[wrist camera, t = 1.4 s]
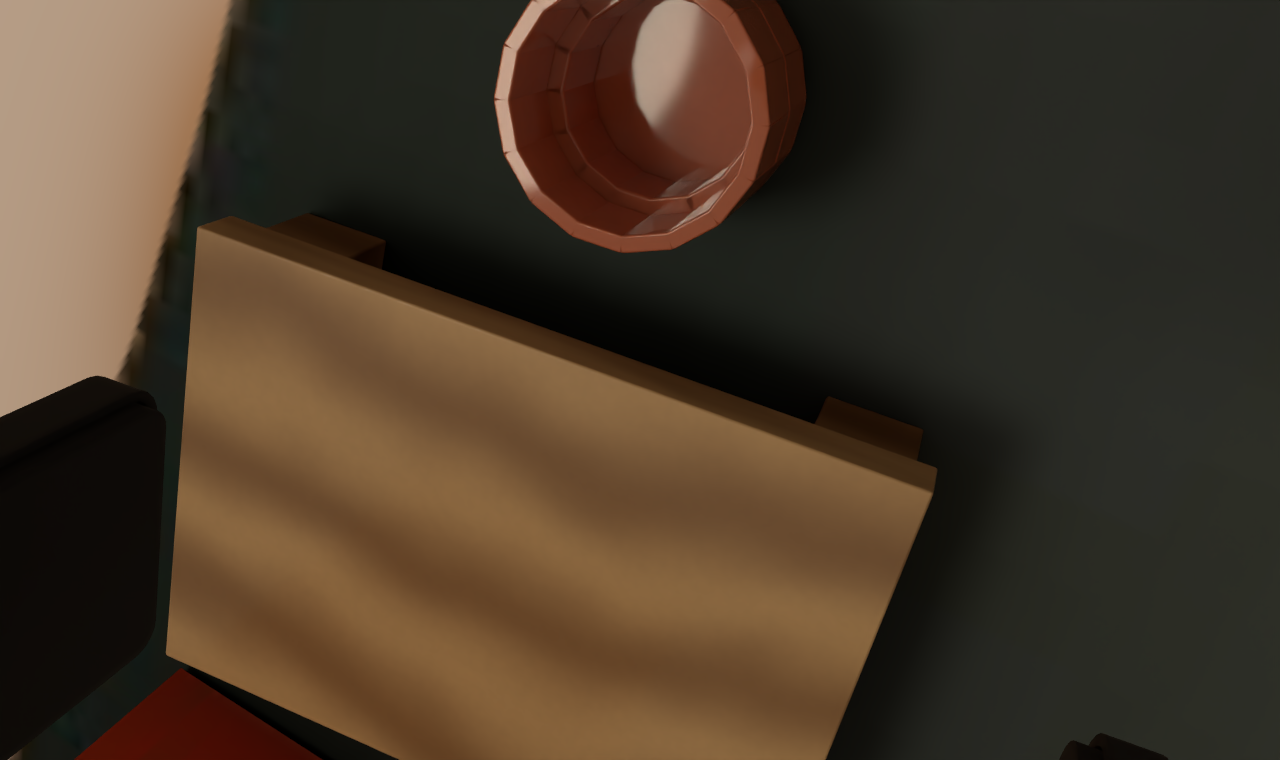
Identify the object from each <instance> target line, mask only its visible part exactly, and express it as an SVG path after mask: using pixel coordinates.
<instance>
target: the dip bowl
mask: <svg viewBox="0 0 1280 760" xmlns="http://www.w3.org/2000/svg"><path fill="white" fill-rule="evenodd" d="M805 100H806V88H805V77H804V66H803V56H802V50H801V49H800V44H799V42H798V40H797V38H796V36H795V34H794V32H793V31H792V29H791V27H790V25H789V23H788V21H787V19H786V17H785V15H784V13H783V11H782V9H781V7H780V5H779V4H778V3H777V1H776V0H531V1H530V2H529V4H528V5H527V7H526V9H525V10H524V12H523V13H522V15H521V17H520V18H519V20H518V21H517V23H516V25H515V26H514V28H513V29H512V31H511V33H510V34H509V36H508V37H507V39H506V41H505V43H504V46H503V50H502V56H501V61H500V67H499V72H498V78H497V83H496V89H495V94H494V104H495V110H496V115H497V121H498V127H499V132H500V138H501V144H502V149H503V153H505V154H504V156H505V158H506V160H507V161H508V163H509V165H510V167H511V168H512V170H513V172H514V174H515V175H516V177H517V179H518V181H519V182H520V184H521V186H522V188H523V189H524V191H525V193H526V195H527V196H528V198H529V200H530V201H532V203H533V204H534V205H535V206H536V207H537V208H539V209H540V210H541V211H542V212H543V213H545V214H546V215H547V216H548V217H549V218H550V219H552V220H553V221H554V222H555V223H556V224H558V225H559V226H560V227H561V228H562V229H564V230H565V231H566V232H567V233H568V234H570V235H571V236H573V237H575V238H578V239H581V240H584V241H587V242H590V243H593V244H596V245H599V246H602V247H605V248H608V249H610V250H613V251H616V252H619V253H620V252H622V253H632V252H646V251H660V250H671V249H675V248H677V247H679V246H681V245H683V244H685V243H687V242H689V241H690V240H692V239H694V238H696V237H698V236H700V235H702V234H704V233H706V232H708V231H709V230H711V229H713V228H715V227H717V226H719V225H720V224H721V223H722V222H723V221H724V220H726V219H727V218H728V217H729V216H730V215H731V214H732V213H733V212H734V211H736V210H737V209H738V208H739V207H740V206H741V205H742V204H743V203H744V202H745V201H747V200H748V199H749V198H750V197H751V196H752V195H753V194H754V193H755V192H757V191H758V190H759V189H760V188H761V187H762V186H763V185H764V184H765V183H766V181H767V180H768V179H769V178H770V176H771V175H772V174H773V173H774V171H775V170H776V169H777V168H778V167H779V165H780V164H781V163H782V162H783V160H784V159H785V158H786V157H787V155H788V154H789V153H790V151H791V149H792V147H793V145H794V141H795V138H796V135H797V131H798V128H799V125H800V121H801V118H802V115H803V111H804V108H805V105H806V101H805Z"/></svg>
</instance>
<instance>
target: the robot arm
mask: <svg viewBox="0 0 1280 760" xmlns="http://www.w3.org/2000/svg"><path fill="white" fill-rule="evenodd" d="M165 438H166V421H165V418H164V416H163V414H162V413H160V412H159V411H157V405H156V403H155V400H154V398H153V397H152V396H151V395H150V394H149V393H148V392H145V391H142V390H139V389H137V388H134V387H131V386H128V385H125V384H123V383H120V382H117V381H114V380H111V379H109V378H106V377H101V376H93V377H89V378H86V379H84V380H82V381H80V382H77V383H75V384H73V385H71V386H68V387H66V388H64V389H62V390H60V391H57V392H55V393H53V394H51V395H49V396H46V397H44V398H42V399H40V400H38V401H35V402H33V403H31V404H29V405H27V406H24V407H22V408H20V409H17V410H15V411H13V412H11V413H9V414H6V415H4V416H2V417H0V760H8V759H9V758H10V757H11V756H13V755H14V754H15V753H17V752H18V751H19V750H20V749H22V748H23V747H24V746H25V745H27V744H28V743H29V742H30V741H32V740H33V739H34V738H35V737H37V736H38V735H39V734H40V733H42V732H43V731H44V730H45V729H47V728H48V727H49V726H50V725H52V724H53V723H54V722H55V721H57V720H58V719H59V718H60V717H62V716H63V715H64V714H65V713H67V712H68V711H69V710H70V709H72V708H73V707H74V706H75V705H77V704H78V703H79V702H80V701H82V700H83V699H84V698H85V697H87V696H88V695H89V694H90V693H92V692H93V691H94V690H95V689H97V688H98V687H99V686H100V685H102V684H103V683H104V682H105V681H107V680H108V679H109V678H110V677H112V676H113V675H114V674H115V673H117V672H118V671H119V670H120V669H122V668H123V667H124V666H125V665H127V664H128V663H129V662H130V661H132V660H133V659H134V658H135V657H136V656H137V655H138V654H139V653H140V652H141V651H142V650H143V649H144V647H145V646H146V645H147V643H148V641H149V639H150V637H151V636H152V633H153V630H154V627H155V621H156V604H157V586H158V567H159V549H160V530H161V512H162V493H163V475H164V456H165ZM1059 760H1168V758H1166V757H1165V756H1164V755H1162V754H1159V753H1156V752H1153V751H1150V750H1148V749H1145V748H1142V747H1139V746H1136V745H1134V744H1131V743H1128V742H1125V741H1122V740H1120V739H1117V738H1114V737H1111V736H1108V735H1106V734H1103V733H1100V734H1098V735H1096V736H1095V737H1094V739H1093V740H1092V741H1091V743H1090V744H1089V746H1088V745H1085V744H1082V743H1079V742H1077V741H1074V740H1073V741H1070V742H1069V743H1068V745H1067V746H1066V747H1065V749H1064V751H1063V753H1062V755H1061V757H1060V759H1059Z"/></svg>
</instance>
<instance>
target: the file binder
mask: <svg viewBox="0 0 1280 760" xmlns="http://www.w3.org/2000/svg"><path fill="white" fill-rule="evenodd" d="M75 760H322V759H321V758H319V757H318V756H316V755H314V754H313V753H311V752H310V751H308V750H307V749H305V748H304V747H302V746H301V745H299V744H297V743H296V742H294V741H293V740H291V739H290V738H288V737H287V736H285V735H284V734H282V733H280V732H279V731H277V730H276V729H274V728H273V727H271V726H270V725H268V724H267V723H265V722H263V721H262V720H260V719H259V718H257V717H256V716H254V715H253V714H251V713H250V712H248V711H246V710H245V709H243V708H242V707H240V706H239V705H237V704H236V703H234V702H233V701H231V700H229V699H228V698H226V697H225V696H223V695H222V694H220V693H219V692H217V691H216V690H214V689H212V688H211V687H209V686H208V685H206V684H205V683H203V682H202V681H200V680H199V679H197V678H195V677H194V676H192V675H191V674H189V673H188V672H186V671H185V670H183V669H182V668H180V669H179V670H178V671H177V672H176V673H175V674H173V675H172V676H171V677H170V678H169V679H168V680H166V681H165V682H164V683H163V684H162V685H161V686H160V687H158V688H157V689H156V690H155V691H154V692H153V693H151V694H150V695H149V696H148V697H147V698H146V699H144V700H143V701H142V702H141V703H140V704H139V705H137V706H136V707H135V708H134V709H133V710H132V711H130V712H129V713H128V714H127V715H126V716H125V717H123V718H122V719H121V720H120V721H119V722H118V723H116V724H115V725H114V726H113V727H112V728H111V729H109V730H108V731H107V732H106V733H105V734H104V735H102V736H101V737H100V738H99V739H98V740H97V741H95V742H94V743H93V744H92V745H91V746H90V747H88V748H87V749H86V750H85V751H84V752H83V753H82V754H80V755H79V756H78V757H77V758H76V759H75Z"/></svg>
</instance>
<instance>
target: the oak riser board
mask: <svg viewBox="0 0 1280 760" xmlns="http://www.w3.org/2000/svg"><path fill="white" fill-rule="evenodd" d="M385 245H386V241H385V240H383V239H380V238H377V237H374V236H371V235H368V234H365V233H363V232H360V231H357V230H354V229H351V228H348V227H346V226H343V225H340V224H337V223H334V222H331V221H329V220H326V219H323V218H320V217H317V216H314V215H311V214H309V213H306V214H304V215H301V216H298V217H295V218H293V219H290V220H287V221H285V222H282V223H279V224H277V225H274V226H271V227H268V228H264V227H261V226H258V225H255V224H253V223H250V222H247V221H244V220H241V219H239V218H236V217H233V216H229V217H226V218H223V219H220V220H218V221H215V222H212V223H209V224H206V225H203V226H200V227H198V229H197V243H196V256H195V270H194V283H193V297H192V310H191V324H190V337H189V351H188V365H187V378H186V392H185V405H184V419H183V432H182V446H181V459H180V473H179V486H178V500H177V513H176V527H175V540H174V554H173V567H172V581H171V594H170V608H169V621H168V635H167V648H166V655H167V656H170V657H172V658H174V659H176V660H179V661H181V662H183V663H185V664H188V665H190V666H192V667H194V668H196V669H199V670H201V671H203V672H205V673H208V674H210V675H212V676H214V677H216V678H219V679H221V680H223V681H225V682H228V683H230V684H232V685H234V686H236V687H239V688H241V689H243V690H245V691H248V692H250V693H252V694H254V695H257V696H259V697H261V698H263V699H265V700H268V701H270V702H272V703H274V704H277V705H279V706H281V707H283V708H285V709H288V710H290V711H292V712H294V713H297V714H299V715H301V716H303V717H305V718H308V719H310V720H312V721H314V722H317V723H319V724H321V725H323V726H326V727H328V728H330V729H332V730H334V731H337V732H339V733H341V734H343V735H346V736H348V737H350V738H352V739H354V740H357V741H359V742H361V743H363V744H366V745H368V746H370V747H372V748H374V749H377V750H379V751H381V752H383V753H386V754H388V755H390V756H392V757H395V758H397V759H399V760H826V758H827V755H828V753H829V750H830V748H831V745H832V743H833V741H834V738H835V736H836V733H837V731H838V728H839V726H840V723H841V721H842V718H843V716H844V713H845V711H846V708H847V706H848V703H849V701H850V699H851V696H852V694H853V691H854V689H855V686H856V684H857V681H858V679H859V676H860V674H861V671H862V669H863V666H864V664H865V662H866V659H867V657H868V654H869V652H870V649H871V647H872V644H873V642H874V639H875V637H876V634H877V632H878V629H879V627H880V624H881V622H882V620H883V617H884V615H885V612H886V610H887V607H888V605H889V602H890V600H891V597H892V595H893V592H894V590H895V587H896V585H897V582H898V580H899V578H900V575H901V573H902V570H903V568H904V565H905V563H906V560H907V558H908V555H909V553H910V550H911V548H912V545H913V543H914V541H915V538H916V536H917V533H918V531H919V528H920V526H921V523H922V521H923V518H924V516H925V513H926V511H927V508H928V506H929V503H930V501H931V499H932V496H933V492H934V487H935V481H936V475H937V468H935V467H932V466H930V465H927V464H924V463H921V462H918V461H917V459H918V454H919V450H920V445H921V441H922V436H923V430H922V429H920V428H917V427H915V426H912V425H909V424H906V423H903V422H900V421H898V420H895V419H892V418H889V417H886V416H883V415H880V414H878V413H875V412H872V411H869V410H866V409H863V408H861V407H858V406H855V405H852V404H849V403H846V402H843V401H841V400H838V399H835V398H832V397H827V398H826V400H825V402H824V404H823V406H822V408H821V411H820V413H819V415H818V417H817V420H816V422H815V424H812V423H809V422H806V421H804V420H801V419H798V418H795V417H792V416H790V415H787V414H784V413H781V412H778V411H776V410H773V409H770V408H767V407H764V406H762V405H759V404H756V403H753V402H751V401H748V400H745V399H742V398H739V397H737V396H734V395H731V394H728V393H725V392H723V391H720V390H717V389H714V388H711V387H709V386H706V385H703V384H700V383H697V382H695V381H692V380H689V379H686V378H683V377H681V376H678V375H675V374H672V373H669V372H667V371H664V370H661V369H658V368H655V367H653V366H650V365H647V364H644V363H641V362H639V361H636V360H633V359H630V358H627V357H625V356H622V355H619V354H616V353H613V352H611V351H608V350H605V349H602V348H599V347H597V346H594V345H591V344H588V343H585V342H583V341H580V340H577V339H574V338H571V337H569V336H566V335H563V334H560V333H557V332H555V331H552V330H549V329H546V328H544V327H541V326H538V325H535V324H532V323H530V322H527V321H524V320H521V319H518V318H516V317H513V316H510V315H507V314H504V313H502V312H499V311H496V310H493V309H490V308H488V307H485V306H482V305H479V304H476V303H474V302H471V301H468V300H465V299H462V298H460V297H457V296H454V295H451V294H448V293H446V292H443V291H440V290H437V289H434V288H432V287H429V286H426V285H423V284H420V283H418V282H415V281H412V280H409V279H406V278H404V277H401V276H398V275H395V274H392V273H390V272H387V271H384V270H382V265H383V258H384V251H385Z"/></svg>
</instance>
